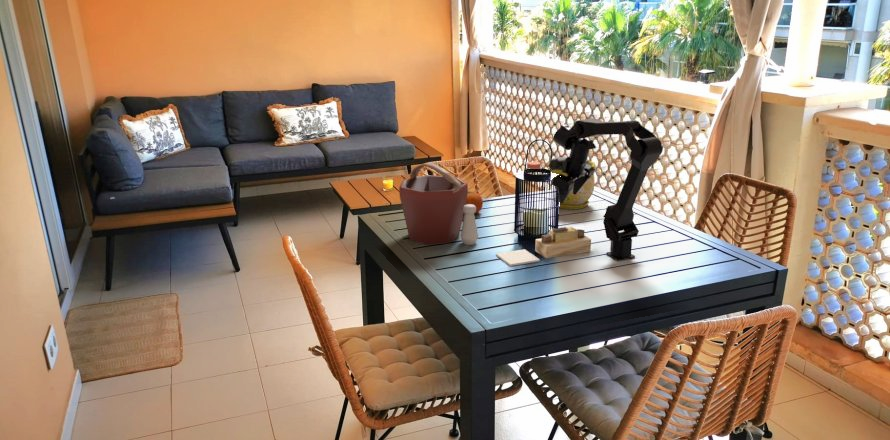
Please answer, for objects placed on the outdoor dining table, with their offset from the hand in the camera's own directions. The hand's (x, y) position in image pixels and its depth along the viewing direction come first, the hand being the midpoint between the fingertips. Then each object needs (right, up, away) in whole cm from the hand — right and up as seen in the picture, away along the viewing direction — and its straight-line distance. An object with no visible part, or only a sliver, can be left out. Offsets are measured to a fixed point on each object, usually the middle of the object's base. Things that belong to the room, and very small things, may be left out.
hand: (567, 198), depth 231 cm
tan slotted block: (-4, -13, -12) cm, 18 cm away
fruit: (-32, -5, +30) cm, 44 cm away
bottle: (-9, -6, +25) cm, 27 cm away
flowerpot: (+8, -1, +38) cm, 39 cm away
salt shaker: (-33, -15, -2) cm, 36 cm away
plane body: (-4, -17, -11) cm, 21 cm away
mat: (-18, -19, -16) cm, 31 cm away
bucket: (-45, -13, +5) cm, 47 cm away
